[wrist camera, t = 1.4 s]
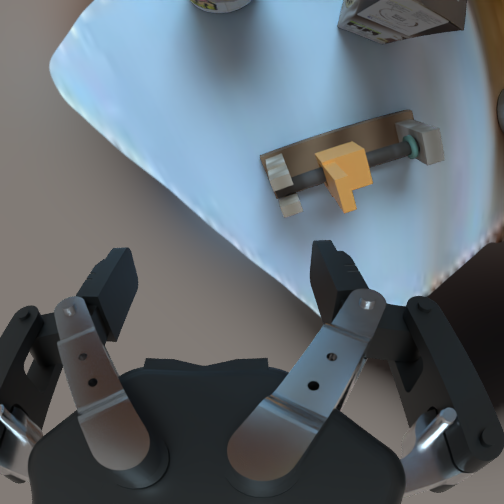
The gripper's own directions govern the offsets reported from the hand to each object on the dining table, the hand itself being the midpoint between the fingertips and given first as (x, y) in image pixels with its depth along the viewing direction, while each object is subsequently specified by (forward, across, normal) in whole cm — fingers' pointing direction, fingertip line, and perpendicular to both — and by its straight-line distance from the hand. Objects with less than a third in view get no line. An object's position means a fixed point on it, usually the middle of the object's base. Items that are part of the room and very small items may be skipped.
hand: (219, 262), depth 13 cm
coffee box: (+24, -16, -20) cm, 35 cm away
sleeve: (+20, -12, +1) cm, 23 cm away
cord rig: (+24, -14, 0) cm, 28 cm away
